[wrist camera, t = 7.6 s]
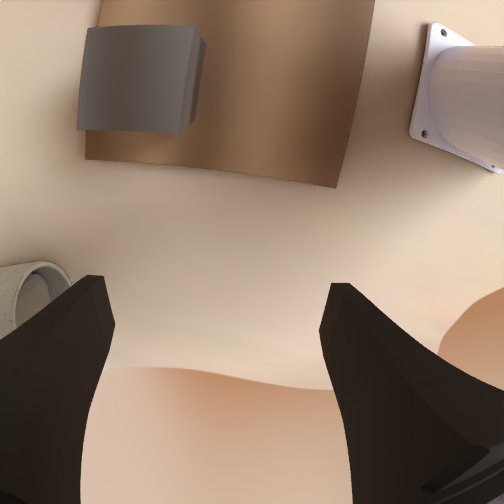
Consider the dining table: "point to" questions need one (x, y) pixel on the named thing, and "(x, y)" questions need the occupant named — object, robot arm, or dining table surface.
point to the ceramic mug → (28, 291)
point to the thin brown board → (225, 84)
